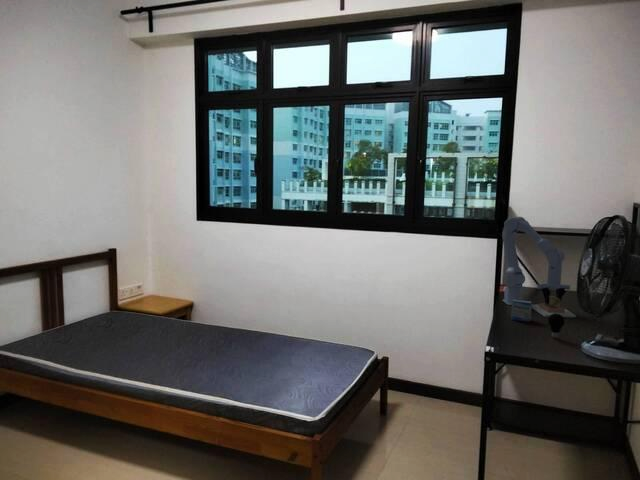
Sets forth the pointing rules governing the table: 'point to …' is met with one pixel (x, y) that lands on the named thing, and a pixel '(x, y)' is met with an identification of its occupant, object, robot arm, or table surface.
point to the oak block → (553, 302)
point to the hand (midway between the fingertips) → (552, 303)
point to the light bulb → (556, 324)
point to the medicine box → (521, 310)
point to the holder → (551, 310)
